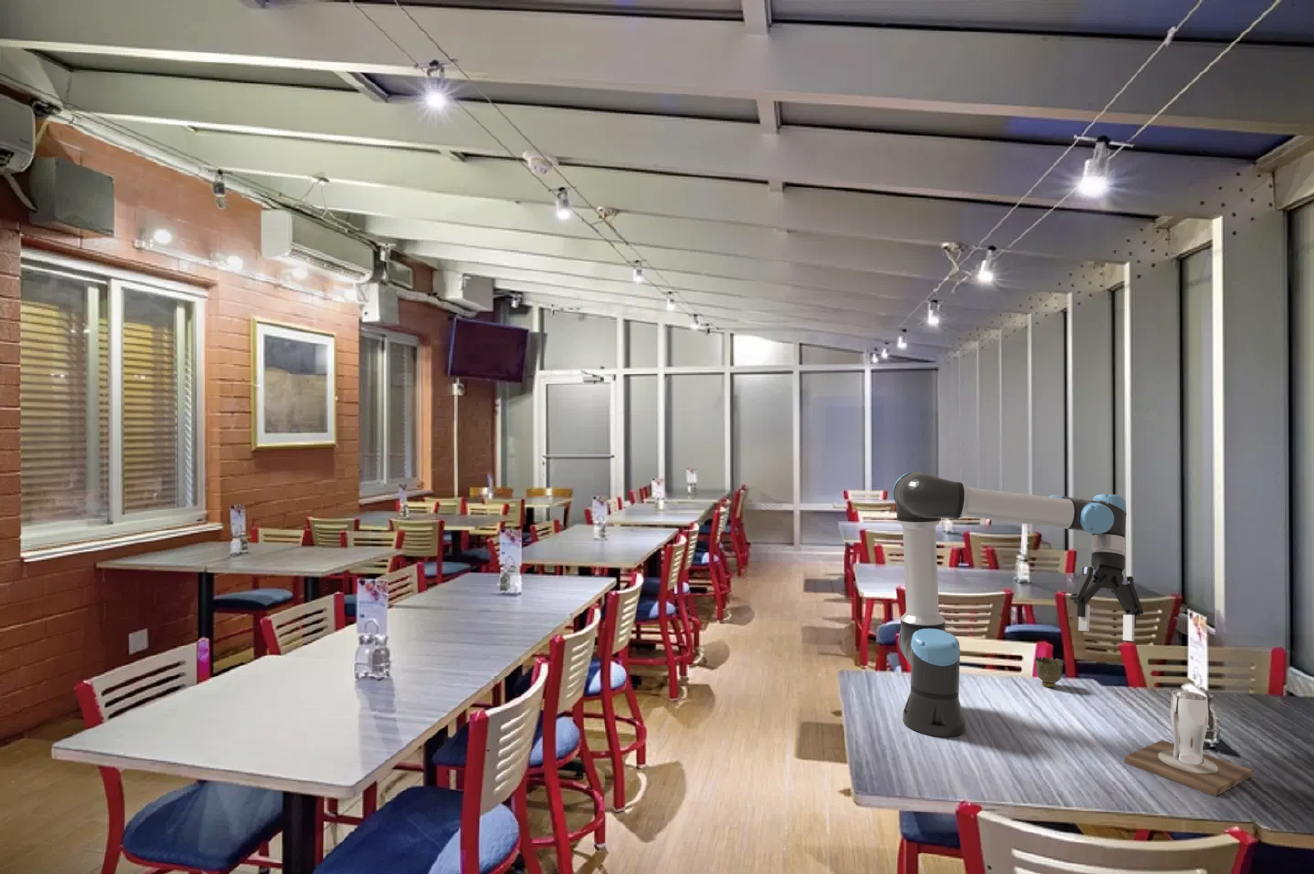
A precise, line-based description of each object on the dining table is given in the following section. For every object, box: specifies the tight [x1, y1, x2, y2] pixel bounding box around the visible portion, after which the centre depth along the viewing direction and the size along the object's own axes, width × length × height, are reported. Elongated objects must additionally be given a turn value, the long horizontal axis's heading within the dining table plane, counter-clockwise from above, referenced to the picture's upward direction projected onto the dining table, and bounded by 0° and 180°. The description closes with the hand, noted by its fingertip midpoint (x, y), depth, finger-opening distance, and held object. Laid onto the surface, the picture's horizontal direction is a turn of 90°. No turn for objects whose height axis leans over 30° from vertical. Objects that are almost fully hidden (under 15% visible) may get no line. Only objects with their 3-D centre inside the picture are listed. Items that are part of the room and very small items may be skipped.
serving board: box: [1124, 739, 1253, 797], centre depth 165 cm, size 18×18×2 cm
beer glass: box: [1169, 689, 1209, 767], centre depth 165 cm, size 7×7×15 cm
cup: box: [1035, 656, 1064, 689], centre depth 219 cm, size 8×7×8 cm
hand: (1106, 635), depth 186 cm, fingers open, 13 cm apart
